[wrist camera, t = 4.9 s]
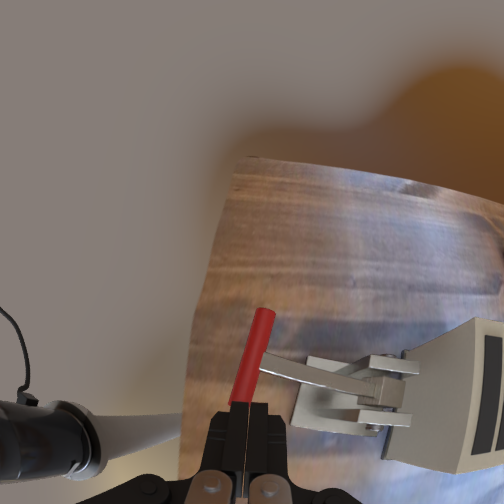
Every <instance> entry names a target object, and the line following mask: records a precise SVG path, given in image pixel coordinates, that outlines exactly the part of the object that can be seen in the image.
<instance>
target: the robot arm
mask: <svg viewBox="0 0 504 504" xmlns="http://www.w3.org/2000/svg"><path fill="white" fill-rule="evenodd" d="M0 313H2V314H3V315H4V316H5V317H6V318H7V319H8V320H9V321H10V322H11V323H12V325H13V326H14V328H15V329H16V332H17V334H18V337H19V340H20V343H21V346H22V350H23V354H24V359H25V366H26V380H25V385H23V386H21V387H19V388H18V391H17V397H18V398H17V402H16V403H14V402H8V401H0V484H10V483H18V482H25V481H32V480H39V479H45V478H50V477H55V476H61V475H66V474H67V475H66V476H65V477H69V476H70V475H71V474H72V473H78V472H81V471H83V470H85V469H86V468H87V467H88V466H89V464H90V463H91V460H92V456H93V446H92V441H91V438H90V435H89V433H88V431H87V429H86V427H85V426H84V424H83V423H82V422H81V421H80V419H79V418H78V417H76V416H75V415H74V414H72V413H71V412H69V411H66V410H62V409H49V408H45V407H37V404H38V401H39V400H38V399H36V398H35V397H34V396H32V395H31V394H28V393H24V392H23V391H25V390H27V389H28V388H29V384H30V364H29V358H28V353H27V349H26V346H25V342H24V339H23V336H22V334H21V331H20V329H19V327H18V325H17V323H16V322H15V321H14V320H13V318H12V317H11V316H10V315H8V314H7V313H6V312H5V311H4V310H3V309H2V308H1V307H0ZM248 414H249V402H241V401H232V402H231V407H230V412H220V411H218V412H217V413H216V414H215V415H214V417H213V418H212V419H211V422H210V426H209V431H208V435H207V440H206V444H205V448H204V453H203V457H202V462H201V466H200V469H199V471H198V472H197V473H196V474H195V475H194V476H192V477H191V478H188V479H185V480H179V481H165V480H164V479H163V478H161V477H159V476H157V475H154V474H143V475H140V476H137V477H135V478H133V479H131V480H129V481H127V482H125V483H123V484H121V485H119V486H116V487H114V488H113V489H110V490H108V491H106V492H103V493H101V494H99V495H96V496H94V497H91V498H89V499H86V500H84V501H81V502H79V503H76V504H235V501H236V497H241V496H242V485H243V475H244V491H243V498H248V504H362V503H361V502H359V501H358V500H357V499H355V498H354V497H352V496H351V495H350V494H348V493H347V492H345V491H344V490H341V489H338V488H328V489H324V490H322V491H320V492H315V491H311V490H306V489H302V488H300V487H298V486H296V485H295V484H293V483H292V481H291V480H290V479H289V476H288V470H287V445H286V424H285V423H284V421H283V419H282V418H281V416H280V415H268V403H257V402H251V404H250V415H249V427H248ZM247 430H248V439H247ZM246 442H247V450H246ZM245 453H246V461H245ZM244 464H245V473H244Z"/></svg>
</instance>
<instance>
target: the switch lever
mask: <svg viewBox="0 0 504 504" xmlns="http://www.w3.org/2000/svg"><path fill="white" fill-rule="evenodd" d="M275 316H276V313H275V312H274V311H272V310H270V309H267V308H257V309H256V312H255V316H254V319H253V323H252V326H251V329H250V333H249V336H248V340H247V343H246V346H245V350H244V353H243V356H242V360H241V363H240V366H239V369H238V373H237V376H236V379H235V383H234V386H233V389H232V392H231V396H230V399H229V402H228V405H229V406H231V402H232V401H241V402H249V408H250V404H251V401H252V398H253V394H254V391H255V388H256V384H257V381H258V377H259V374H260V372H263V373H266V374H269V375H273V376H276V377H280V378H283V379H287V380H290V381H294V382H298V383H301V384H305V385H309V386H313V387H317V388H321V389H326V390H330V391H334V392H339V393H344V394H348V395H353V396H358V399H357V405H363V406H369V407H375V408H402V403H403V397H404V391H405V385H406V381H403V380H399V379H395V378H391V377H387V376H375V377H362V380H359V379H355V378H351V377H347V376H344V375H340V374H336V373H332V372H329V371H325V370H322V369H318V368H315V367H311V366H308V365H305V364H301V363H298V362H295V361H292V360H289V359H285V358H282V357H279V356H276V355H273V354H270V353H267V352H266V349H267V345H268V342H269V338H270V334H271V331H272V327H273V323H274V319H275Z"/></svg>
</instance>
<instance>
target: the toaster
mask: <svg viewBox="0 0 504 504" xmlns="http://www.w3.org/2000/svg"><path fill="white" fill-rule="evenodd" d="M401 359H405V360H412V361H419V362H421V366H420V374H418V375H415V376H411V377H408V378H404V379H400V380H403V381H406V385H405V391H404V397H403V403H402V408H393V410H392V412H398V413H412V414H413V417H412V422H411V426H391V425H389V428H388V432H387V436H386V440H385V444H384V448H383V452H382V455H381V459H382V460H396V461H399V462H403V463H406V464H410V465H414V466H418V467H422V468H426V469H431V470H435V471H440V472H445V473H450V474H455V475H456V474H462V473H467V472H473V471H477V470H482V469H487V468H491V467H495V466H499V465H502V464H504V323H502V322H497V321H493V320H488V319H483V318H478V317H474V318H472V319H471V320H469V321H467V322H465V323H464V324H462V325H460V326H458V327H456V328H455V329H453V330H451V331H449V332H447V333H445V334H443V335H441V336H439V337H437V338H435V339H433V340H431V341H429V342H427V343H425V344H423V345H421V346H419V347H417V348H415V349H413V350H403V351H402V353H401Z"/></svg>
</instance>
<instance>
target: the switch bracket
mask: <svg viewBox="0 0 504 504" xmlns="http://www.w3.org/2000/svg"><path fill="white" fill-rule="evenodd" d="M305 365H308V366H311V367H315V368H318V369H322V370H325V371H329V372H332V373H336V374H340V375H344V376H347V377H351V378H355V379H359V380H362V377H375V376H387V377H391V378H395V379H399V380H400V379H404V378H408V377H411V376H415V375H418V374H420V366H421V362H419V361H412V360H405V359H399V358H396V356H395V355H391V354H382V355H374V354H370V355H368V356H366V357H364V358H362V359H360V360H358V361H356V362H354V363H352V364H350V363H344V362H339V361H334V360H329V359H324V358H319V357H314V356H310V355H308V356H307V357H306V362H305ZM357 399H358V396H353V395H348V394H344V393H339V392H334V391H330V390H326V389H321V388H317V387H313V386H309V385H305V384H301V383H300V386H299V390H298V394H297V398H296V401H295V405H294V409H293V412H292V416H291V419H290V423H289V425H292V426H297V427H302V428H308V429H314V430H320V431H326V432H334V433H341V434H350V435H359V436H371V437H377V433H378V431H383V428H384V425H391V426H411V422H412V417H413V414H412V413H398V412H386V411H383V408H375V407H369V406H363V405H357Z"/></svg>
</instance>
